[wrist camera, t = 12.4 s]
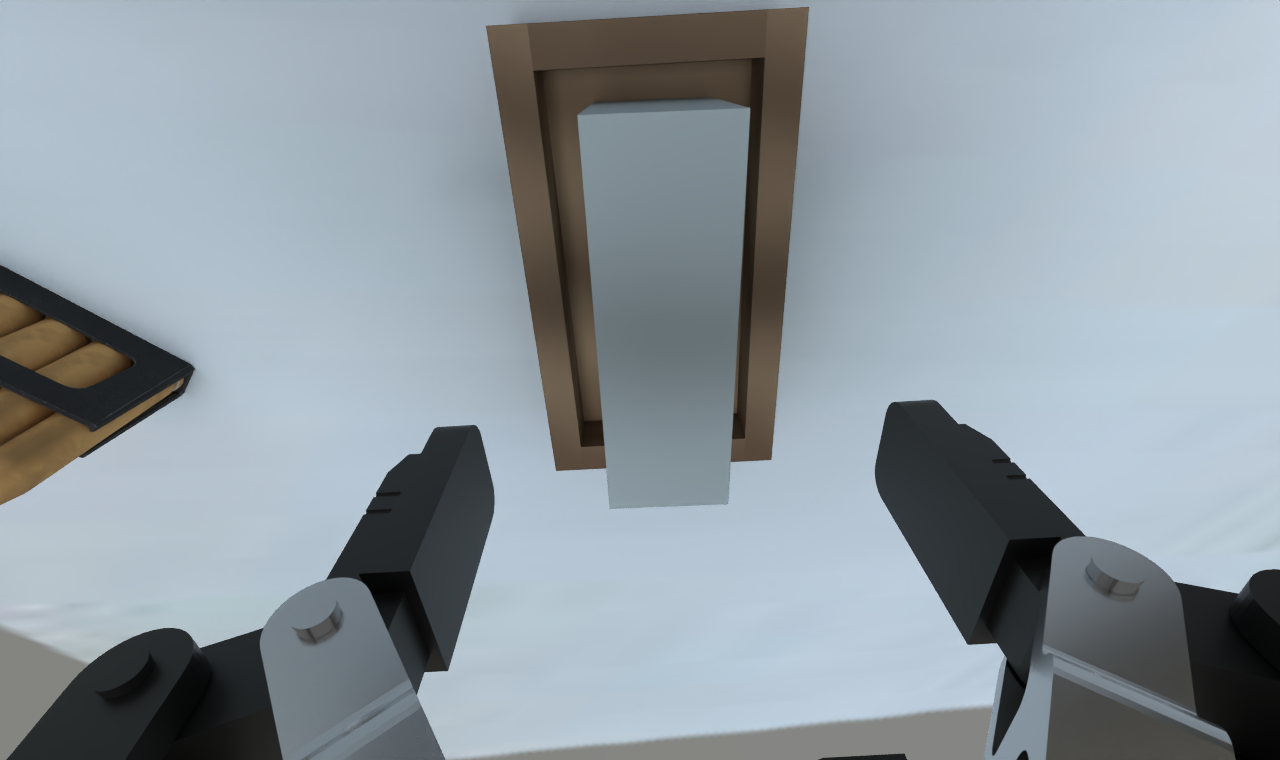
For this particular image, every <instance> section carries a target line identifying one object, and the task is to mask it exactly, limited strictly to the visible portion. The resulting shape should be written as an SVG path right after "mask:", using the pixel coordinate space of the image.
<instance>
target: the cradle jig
mask: <svg viewBox="0 0 1280 760" xmlns="http://www.w3.org/2000/svg"><path fill="white" fill-rule="evenodd" d="M808 12H809V7H801V8H784V9H767V10H750V11H732V12H715V13H698V14H681V15H664V16H647V17H630V18H612V19H595V20H578V21H561V22H544V23H527V24H510V25H492V26H486V29H487V35H488V41H489V48H490V54H491V60H492V67H493V73H494V79H495V86H496V92H497V99H498V105H499V111H500V118H501V124H502V130H503V137H504V143H505V149H506V156H507V162H508V168H509V175H510V181H511V187H512V194H513V200H514V206H515V213H516V219H517V226H518V232H519V238H520V245H521V251H522V257H523V264H524V270H525V276H526V283H527V289H528V295H529V302H530V308H531V314H532V321H533V327H534V333H535V340H536V346H537V353H538V359H539V365H540V372H541V378H542V384H543V391H544V397H545V403H546V410H547V416H548V422H549V429H550V435H551V441H552V448H553V454H554V460H555V467H556V471H562V470H582V469H602V468H606V456H605V444H604V432H603V420H602V408H601V396H600V384H599V371H598V359H597V347H596V335H595V323H594V311H593V299H592V286H591V274H590V262H589V250H588V238H587V226H586V214H585V201H584V189H583V177H582V165H581V153H580V141H579V129H578V116H577V115H578V114H579V113H581V112H582V111H583V110H584V109H586V108H587V107H588V106H589V105H590V104H592V103H593V102H596V101H620V100H645V99H669V98H694V97H713V98H717V99H720V100H724V101H727V102H731V103H734V104H738V105H741V106H745V107H748V108H750V125H749V142H748V160H747V178H746V196H745V214H744V232H743V249H742V267H741V285H740V303H739V321H738V338H737V356H736V374H735V392H734V410H733V428H732V445H731V462H739V461H758V460H771V457H772V445H773V433H774V421H775V409H776V397H777V385H778V373H779V361H780V349H781V337H782V325H783V313H784V301H785V289H786V277H787V265H788V253H789V241H790V229H791V217H792V205H793V193H794V181H795V169H796V157H797V145H798V133H799V121H800V109H801V97H802V85H803V73H804V61H805V48H806V36H807V24H808Z"/></svg>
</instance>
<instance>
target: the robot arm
mask: <svg viewBox="0 0 1280 760" xmlns="http://www.w3.org/2000/svg"><path fill="white" fill-rule="evenodd" d="M875 479H876V484H877V488H878V492H879V494H880V496H881V498H882V500H883V502H884V503H885V505H886V507H887V508H888V510H889V512H890V513H891V515H892V517H893V519H894V520H895V522H896V524H897V525H898V527H899V529H900V530H901V532H902V534H903V536H904V537H905V539H906V541H907V542H908V544H909V546H910V547H911V549H912V551H913V553H914V554H915V556H916V558H917V559H918V561H919V563H920V564H921V566H922V568H923V570H924V571H925V573H926V575H927V576H928V578H929V580H930V581H931V583H932V585H933V586H934V588H935V590H936V592H937V593H938V595H939V597H940V598H941V600H942V602H943V603H944V605H945V607H946V609H947V610H948V612H949V614H950V615H951V617H952V619H953V620H954V622H955V624H956V626H957V627H958V629H959V631H960V632H961V634H962V636H963V637H964V639H965V641H966V643H967V644H968V645H972V644H990V643H997V644H998V645H999V647H1000V648H1001V650H1002V652H1003V653H1004V655H1005V656H1004V658H1003V661H1002V663H1001V665H1000V669H999V674H998V680H997V686H996V691H995V697H994V703H993V709H992V715H991V721H990V726H989V733H988V738H987V744H986V749H985V755H984V760H1280V570H1277V569H1272V570H1263V571H1260V572H1257V573H1256V574H1254V575H1253V576H1252V577H1251V578H1250V580H1249V581H1248V582H1247V584H1246V585H1245V587H1244V588H1243V589H1242V591H1241V592H1240V593H1239V594H1237V593H1232V592H1226V591H1221V590H1215V589H1210V588H1204V587H1199V586H1194V585H1188V584H1183V583H1177V582H1174V581H1173V580H1172V579H1171V577H1170V576H1169V575H1168V574H1167V573H1166V572H1165V571H1164V570H1163V569H1161V568H1160V567H1159V566H1158V565H1156V564H1155V563H1154V562H1152V561H1151V560H1149V559H1148V558H1146V557H1145V556H1143V555H1141V554H1139V553H1138V552H1136V551H1134V550H1132V549H1130V548H1127V547H1125V546H1123V545H1120V544H1117V543H1115V542H1112V541H1108V540H1104V539H1100V538H1095V537H1086V536H1085V535H1084V534H1083V533H1082V532H1081V531H1080V530H1079V529H1078V528H1077V527H1076V526H1075V525H1074V524H1073V523H1072V521H1071V520H1070V519H1069V518H1068V517H1067V516H1066V515H1065V514H1064V513H1063V512H1062V511H1061V510H1060V509H1059V508H1058V507H1057V506H1056V505H1055V504H1054V503H1053V502H1052V501H1051V500H1050V499H1049V498H1048V497H1047V496H1046V495H1045V494H1044V493H1043V492H1042V491H1041V490H1040V489H1039V488H1038V487H1037V485H1036V484H1035V483H1034V482H1033V481H1032V480H1031V479H1026V474H1025V473H1024V472H1023V471H1022V470H1021V469H1020V468H1019V467H1018V466H1017V465H1016V464H1015V463H1014V462H1013V463H1011V461H1010V458H1009V457H1008V456H1007V455H1006V454H1005V453H1004V452H1003V451H1002V450H1001V448H1000V447H999V446H998V445H997V444H996V443H995V442H994V441H993V440H992V439H990V438H988V437H987V436H985V435H983V434H981V433H980V432H978V431H976V430H975V429H973V428H971V427H969V426H968V425H966V424H958V423H957V422H956V421H955V420H954V419H953V418H952V417H951V416H950V415H949V414H948V413H947V411H946V410H945V409H944V408H943V407H942V406H941V405H940V404H939V403H938V402H937V401H935V400H922V401H905V402H893V403H891V404H890V405H889V407H888V409H887V412H886V416H885V421H884V426H883V431H882V435H881V440H880V445H879V450H878V455H877V460H876V465H875ZM366 512H367V513H366V515H363V517H362V518H361V520H360V522H359V524H358V525H357V527H356V529H355V531H354V532H353V534H352V536H351V537H350V539H349V541H348V543H347V544H346V546H345V548H344V550H343V551H342V553H341V555H340V556H339V558H338V560H337V562H336V563H335V565H334V567H333V569H332V570H331V572H330V574H329V576H328V577H327V579H326V580H324V581H321V582H318V583H315V584H313V585H311V586H308V587H306V588H305V589H303V590H301V591H299V592H298V593H296V594H295V595H293V596H292V597H290V598H289V599H288V600H287V601H285V602H284V603H283V604H282V605H281V606H280V607H279V608H278V609H277V610H276V611H275V612H274V613H273V615H272V616H271V617H270V618H269V620H268V621H267V623H266V625H265V626H264V628H262V629H259V630H256V631H253V632H250V633H247V634H244V635H240V636H237V637H234V638H231V639H228V640H225V641H221V642H218V643H215V644H212V645H209V646H206V647H202V648H199V647H198V645H197V644H196V643H195V641H194V640H193V639H192V637H191V636H190V635H189V634H188V633H187V632H186V631H183V630H181V629H176V628H163V629H157V630H152V631H149V632H145V633H142V634H140V635H137V636H135V637H132V638H130V639H128V640H126V641H124V642H122V643H120V644H118V645H117V646H115V647H113V648H111V649H110V650H108V651H107V652H105V653H104V654H102V655H101V656H99V657H98V658H97V659H96V660H94V661H93V662H92V663H90V664H89V665H88V666H87V667H86V668H85V669H84V670H83V671H82V672H80V673H79V674H78V675H77V677H76V678H75V679H74V680H73V681H72V682H71V683H70V684H69V686H68V687H67V688H66V689H65V690H64V691H63V693H62V694H61V695H60V696H59V697H58V699H57V700H56V701H55V702H54V704H53V705H52V706H51V707H50V708H49V709H48V711H47V712H46V713H45V714H44V715H43V717H42V718H41V719H40V720H39V721H38V723H37V724H36V725H35V726H34V727H33V729H32V730H31V731H30V732H29V734H28V735H27V736H26V737H25V738H24V740H23V741H22V742H21V743H20V744H19V745H18V747H17V748H16V749H15V750H14V752H13V753H12V754H11V755H10V756H9V757H8V759H7V760H445V757H444V755H443V753H442V751H441V749H440V746H439V744H438V742H437V740H436V737H435V735H434V733H433V731H432V728H431V726H430V724H429V722H428V720H427V717H426V715H425V713H424V711H423V708H422V706H421V704H420V702H419V699H418V697H417V693H418V690H419V686H420V683H421V680H422V677H423V674H424V672H436V671H448V669H449V666H450V662H451V659H452V655H453V652H454V649H455V645H456V642H457V638H458V635H459V631H460V628H461V625H462V621H463V618H464V614H465V611H466V607H467V604H468V600H469V597H470V594H471V590H472V587H473V583H474V580H475V576H476V573H477V569H478V566H479V563H480V559H481V556H482V552H483V549H484V545H485V542H486V539H487V535H488V532H489V528H490V525H491V521H492V518H493V513H494V488H493V483H492V479H491V474H490V470H489V466H488V462H487V458H486V454H485V450H484V446H483V442H482V438H481V434H480V431H479V429H478V427H477V426H476V425H467V426H449V427H437V428H435V429H434V430H433V432H432V434H431V435H430V437H429V439H428V441H427V443H426V445H425V447H424V449H423V451H422V453H421V454H409V455H408V456H407V457H405V458H404V459H403V460H402V461H401V462H400V463H398V464H397V465H396V466H395V467H394V468H393V469H392V470H390V471H389V472H388V473H387V475H386V477H385V479H384V480H383V482H382V484H381V486H380V487H379V489H378V491H377V492H376V497H374V498H373V499H372V501H371V503H370V505H369V506H368V508H367V510H366ZM819 760H907V759H906V756H905V754H889V755H870V756H851V757H833V758H822V759H819Z"/></svg>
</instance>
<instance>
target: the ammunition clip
mask: <svg viewBox="0 0 1280 760" xmlns="http://www.w3.org/2000/svg"><path fill="white" fill-rule="evenodd" d="M192 372H193V368H192V365H191V364H189V363H187V362H186V361H184V360H182V359H180V358H178V357H176V356H174V355H172V354H170V353H168V352H166V351H164V350H162V349H161V348H159V347H157V346H155V345H153V344H151V343H149V342H147V341H145V340H143V339H141V338H139V337H138V336H136V335H134V334H132V333H130V332H128V331H126V330H124V329H122V328H120V327H118V326H116V325H115V324H113V323H111V322H109V321H107V320H105V319H103V318H101V317H99V316H97V315H95V314H93V313H92V312H90V311H88V310H86V309H84V308H82V307H80V306H78V305H76V304H74V303H72V302H70V301H68V300H67V299H65V298H63V297H61V296H59V295H57V294H55V293H53V292H51V291H49V290H47V289H45V288H44V287H42V286H40V285H38V284H36V283H34V282H32V281H30V280H28V279H26V278H24V277H22V276H21V275H19V274H17V273H15V272H13V271H11V270H9V269H7V268H5V267H3V266H1V265H0V505H1V504H3V503H6V502H8V501H10V500H12V499H14V498H16V497H18V496H20V495H22V494H24V493H26V492H28V491H29V490H31V489H32V488H34V487H35V486H37V485H38V484H39V483H41V482H42V481H44V480H45V479H47V478H48V477H50V476H51V475H53V474H54V473H55V472H57V471H58V470H60V469H61V468H63V467H64V466H66V465H67V464H69V463H70V462H71V461H73V460H74V459H76V458H77V457H81V458H84V457H86V456H87V455H89V454H90V453H92V452H93V451H95V450H97V449H98V448H100V447H101V446H103V445H104V444H106V443H108V442H109V441H111V440H112V439H114V438H115V437H117V436H119V435H120V434H122V433H123V432H125V431H126V430H128V429H130V428H131V427H133V426H134V425H136V424H137V423H139V422H141V421H142V420H144V419H145V418H147V417H148V416H150V415H152V414H153V413H155V412H156V411H158V410H159V409H161V408H163V407H164V406H166V405H167V404H169V403H170V402H172V401H174V400H175V399H177V398H178V397H180V396H181V395H182V394H183V392H184V390H185V388H186V385H187V383H188V381H189V379H190V377H191V374H192Z"/></svg>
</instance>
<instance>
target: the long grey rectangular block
mask: <svg viewBox="0 0 1280 760" xmlns="http://www.w3.org/2000/svg"><path fill="white" fill-rule="evenodd" d="M577 116H578V129H579V141H580V153H581V165H582V177H583V189H584V201H585V214H586V226H587V238H588V250H589V262H590V274H591V286H592V299H593V311H594V323H595V335H596V347H597V359H598V371H599V384H600V396H601V408H602V420H603V432H604V444H605V456H606V468H607V481H608V493H609V505H610V509H615V508H641V507H666V506H691V505H717V504H728V499H729V481H730V463H731V445H732V428H733V410H734V392H735V374H736V356H737V338H738V321H739V303H740V285H741V267H742V249H743V232H744V214H745V196H746V178H747V160H748V142H749V125H750V108H748V107H745V106H741V105H738V104H734V103H731V102H727V101H724V100H720V99H717V98H713V97H694V98H669V99H645V100H620V101H596V102H593V103H592V104H590V105H589V106H588V107H587V108H586V109H584V110H583V111H582V112H581V113H579V114H578V115H577Z"/></svg>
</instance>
